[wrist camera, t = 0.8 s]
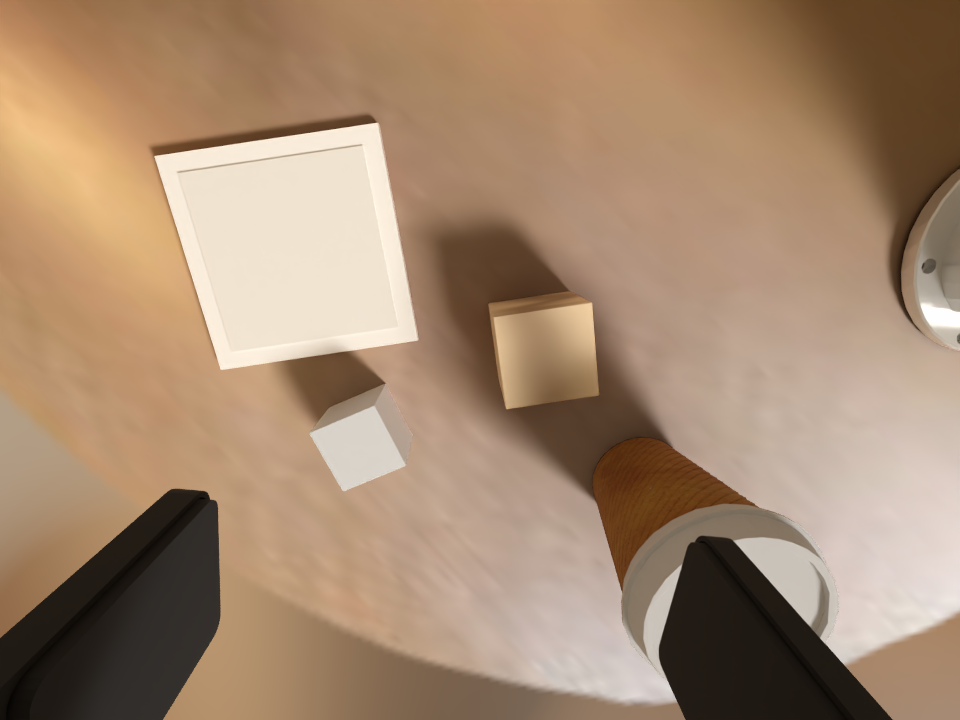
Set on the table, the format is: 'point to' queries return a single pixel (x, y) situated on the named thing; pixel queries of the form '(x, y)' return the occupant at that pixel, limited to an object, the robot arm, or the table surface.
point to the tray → (292, 244)
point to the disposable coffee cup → (681, 520)
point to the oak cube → (544, 349)
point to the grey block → (363, 437)
